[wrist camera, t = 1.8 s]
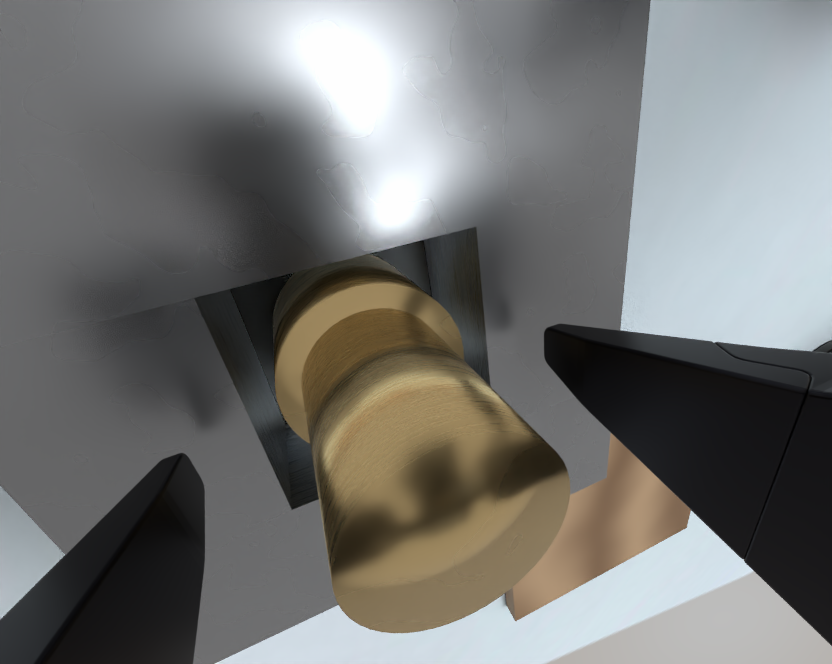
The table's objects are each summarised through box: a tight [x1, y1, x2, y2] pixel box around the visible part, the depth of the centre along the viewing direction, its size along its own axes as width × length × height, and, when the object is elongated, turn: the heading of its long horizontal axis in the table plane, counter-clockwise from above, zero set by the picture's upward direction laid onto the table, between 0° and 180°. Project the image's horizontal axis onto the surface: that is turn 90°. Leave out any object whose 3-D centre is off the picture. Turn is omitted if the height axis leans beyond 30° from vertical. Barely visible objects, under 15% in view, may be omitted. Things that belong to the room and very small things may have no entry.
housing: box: [0, 0, 650, 664], centre depth 12 cm, size 16×16×4 cm
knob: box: [273, 254, 570, 633], centre depth 9 cm, size 5×5×9 cm
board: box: [506, 433, 691, 621], centre depth 22 cm, size 14×14×1 cm
